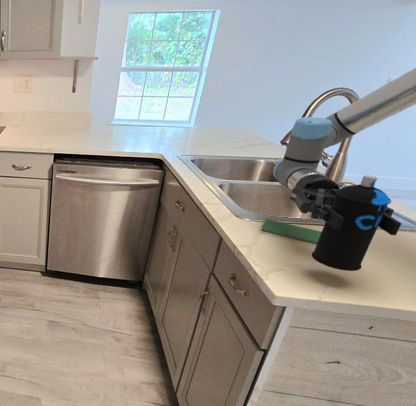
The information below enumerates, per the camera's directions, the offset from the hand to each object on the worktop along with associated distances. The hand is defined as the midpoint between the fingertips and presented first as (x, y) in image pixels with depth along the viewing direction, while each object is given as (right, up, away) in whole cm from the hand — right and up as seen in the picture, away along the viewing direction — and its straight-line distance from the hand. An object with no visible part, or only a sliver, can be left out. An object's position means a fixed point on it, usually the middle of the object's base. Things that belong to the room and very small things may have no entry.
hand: (367, 226), depth 73 cm
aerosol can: (+2, -8, +8) cm, 12 cm away
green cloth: (+12, -4, +30) cm, 33 cm away
